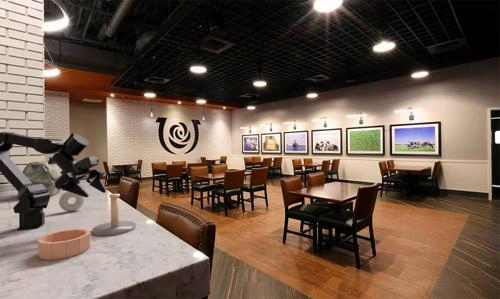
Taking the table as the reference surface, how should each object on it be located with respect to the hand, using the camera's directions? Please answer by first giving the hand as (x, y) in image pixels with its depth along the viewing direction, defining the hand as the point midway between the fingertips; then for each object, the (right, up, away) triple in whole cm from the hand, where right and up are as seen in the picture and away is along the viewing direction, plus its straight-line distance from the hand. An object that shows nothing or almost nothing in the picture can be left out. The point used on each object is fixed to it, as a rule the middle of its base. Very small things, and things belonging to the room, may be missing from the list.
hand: (96, 194), depth 93 cm
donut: (-28, -13, +26) cm, 40 cm away
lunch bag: (-76, -13, +67) cm, 102 cm away
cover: (+7, -13, -1) cm, 15 cm away
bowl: (+3, -13, -20) cm, 24 cm away
